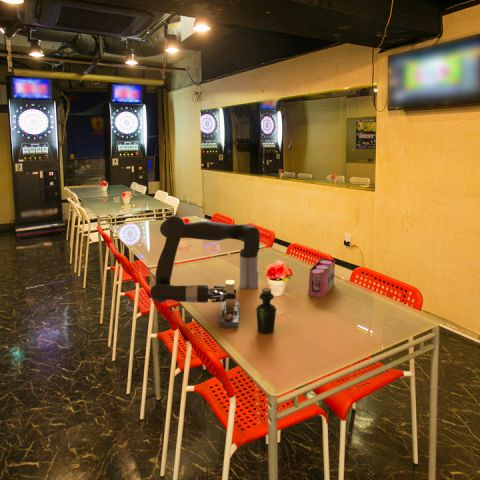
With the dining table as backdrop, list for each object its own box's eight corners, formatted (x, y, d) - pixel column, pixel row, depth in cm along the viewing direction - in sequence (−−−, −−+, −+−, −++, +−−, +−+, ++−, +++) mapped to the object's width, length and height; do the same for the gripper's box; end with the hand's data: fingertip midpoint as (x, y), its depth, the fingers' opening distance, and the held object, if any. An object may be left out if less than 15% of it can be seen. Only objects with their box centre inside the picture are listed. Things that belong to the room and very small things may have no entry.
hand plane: (222, 307, 195) (222, 297, 194) (239, 307, 195) (239, 297, 194) (219, 328, 174) (219, 317, 172) (238, 328, 173) (238, 317, 172)
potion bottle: (270, 324, 177) (270, 284, 173) (279, 333, 170) (280, 291, 165) (252, 328, 174) (253, 287, 169) (261, 336, 167) (262, 294, 162)
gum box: (322, 299, 206) (323, 272, 202) (306, 296, 209) (308, 270, 206) (334, 284, 226) (335, 260, 223) (319, 281, 230) (321, 258, 227)
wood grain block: (226, 307, 186) (226, 280, 183) (234, 307, 186) (234, 280, 183) (225, 312, 181) (225, 284, 178) (233, 312, 181) (233, 284, 178)
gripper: (194, 291, 174) (235, 292, 174) (198, 280, 188) (236, 280, 188) (195, 308, 176) (235, 308, 175) (199, 295, 190) (236, 295, 189)
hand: (235, 294), depth 182 cm, fingers closed on wood grain block, 5 cm apart
